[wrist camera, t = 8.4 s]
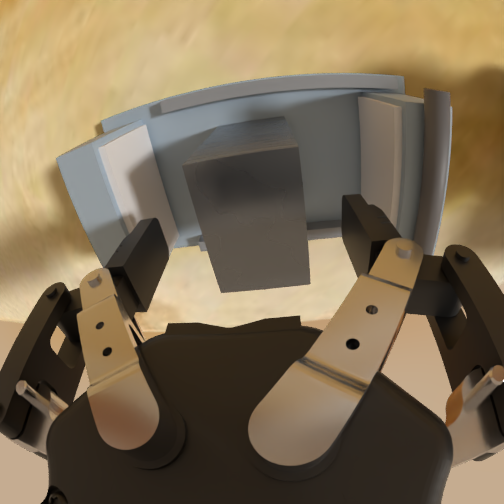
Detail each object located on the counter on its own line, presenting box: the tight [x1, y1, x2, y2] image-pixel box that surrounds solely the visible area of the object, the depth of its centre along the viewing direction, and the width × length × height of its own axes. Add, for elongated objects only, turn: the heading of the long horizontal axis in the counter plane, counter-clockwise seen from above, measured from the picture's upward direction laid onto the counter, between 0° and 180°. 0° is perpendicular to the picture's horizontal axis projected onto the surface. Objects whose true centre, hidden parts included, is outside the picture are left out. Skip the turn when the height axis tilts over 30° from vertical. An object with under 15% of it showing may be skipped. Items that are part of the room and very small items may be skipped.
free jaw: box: [358, 88, 452, 255], centre depth 13 cm, size 3×10×7 cm, turn 9°
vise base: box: [56, 73, 405, 268], centre depth 15 cm, size 20×11×7 cm, turn 99°
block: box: [182, 116, 310, 293], centre depth 14 cm, size 4×6×8 cm, turn 10°
